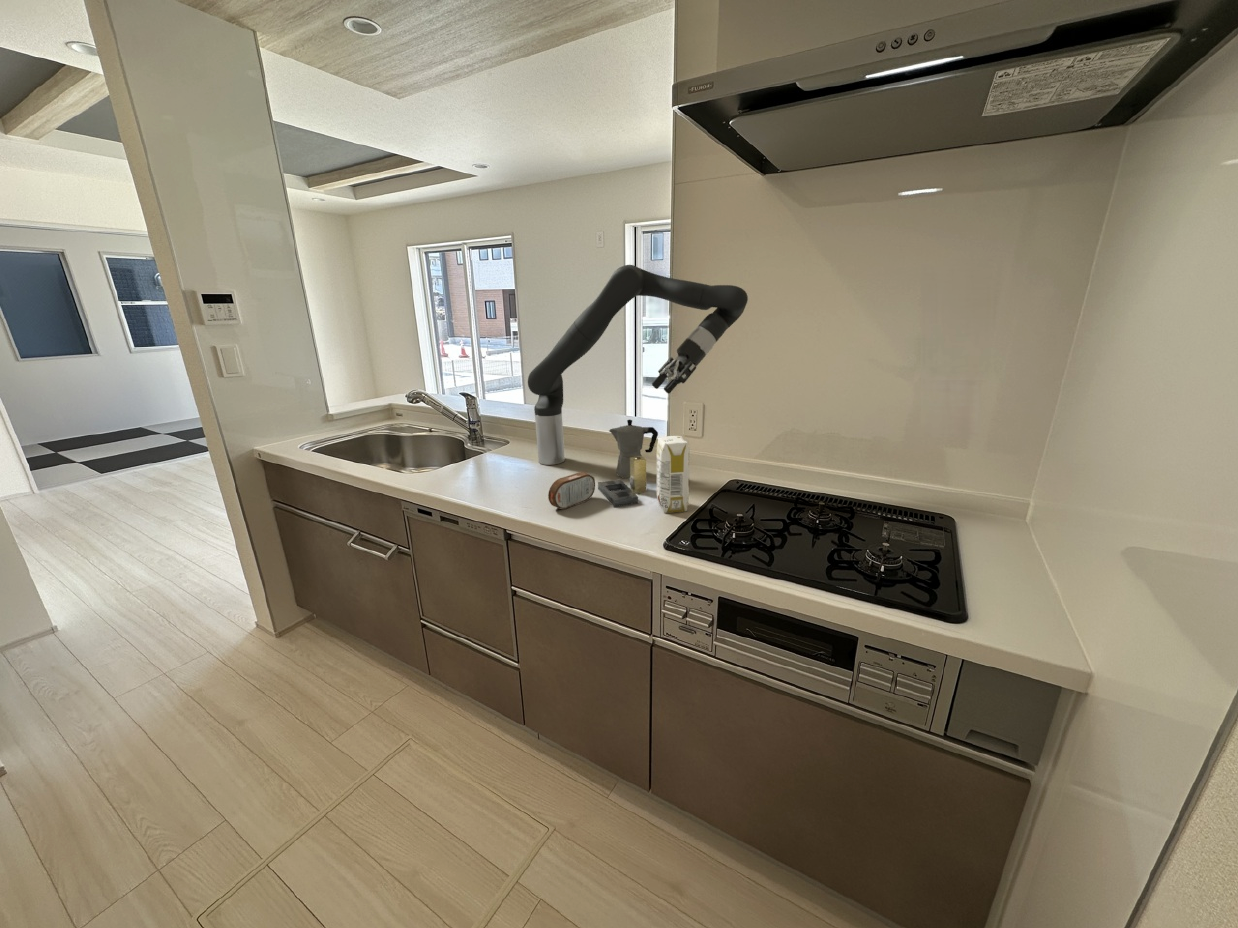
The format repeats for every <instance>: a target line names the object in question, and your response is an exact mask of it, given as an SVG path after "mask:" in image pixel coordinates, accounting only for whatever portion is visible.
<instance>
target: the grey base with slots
mask: <svg viewBox="0 0 1238 928" xmlns="http://www.w3.org/2000/svg"><path fill="white" fill-rule="evenodd" d="M597 489H598V490H599V491H600V492H601V494H602V496H604V497H605V498H606V500H607V501H608V502H609V503H610V504H611V506H613V508H617V507H626V506H631V505H636V504H639V496H638V494H637V493H634V492H633V491H632V490H631V489H630V487H629V486H628V485H627V484H626V483H625V482H624V481H622V479H613V480H605V481H598V482H597Z"/></svg>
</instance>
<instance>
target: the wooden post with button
mask: <svg viewBox="0 0 1238 928" xmlns="http://www.w3.org/2000/svg"><path fill="white" fill-rule="evenodd" d="M629 485H630V487H629V488H630V489H631V490H632V491H633V492H634V493H635V494H640V493H641V494H642V493H646V492H647V459H646V458H645V457H644V456H636V457H630V479H629Z"/></svg>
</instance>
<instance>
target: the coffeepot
mask: <svg viewBox="0 0 1238 928" xmlns="http://www.w3.org/2000/svg"><path fill="white" fill-rule="evenodd" d="M626 421H627V425H622V426H621V425H620V426H619V427H614V428H610V429H609V430H608V432H610V433H611V435H612V436H613V438H614V439H615V440H616V443H617V448H618V450H619V454H618V459H617V467H616V471H615V472H616V475H617V476H618V477H620V478H622V477H623V478H622V479H627V478H630V457H636V456H642V453H641V452H642V451H641V450H642V449H643V444H644V437H645V434H652V435H651V438H650V439H651V440H650V442H649V446H648V447H649V448H648V449H645V450H644V452H645V453H652V452H653V450H654V447H655V444H656V441H657V440H658V439H657V438H658V436H659V432H658V431H657V429H656V428H654V427H653V426H651V427H650V426H649V427H648V426H643V427H642V426H639V425H634V424H633V419H628V420H626ZM642 457H643V456H642Z"/></svg>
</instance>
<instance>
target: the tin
mask: <svg viewBox="0 0 1238 928" xmlns="http://www.w3.org/2000/svg"><path fill="white" fill-rule="evenodd" d="M595 489H596V480H595V477H594V476H593V475H591V474H590V473H588V472H586V471H578V472H577V473H573V474H570V475H566V476H564V477H563V476H562V477H560V478H557V479H556V480H555V481H554V482H552V484H551V486H550V488H549V490H548V495H547V500H548V501H549V503H550V505H551V506H553V507H555V508H557V509H560V510H566V509H569V508H571V507H573V506H576V505H579V504H582V503H585V502H587V501H589V500H590V499H591V498H592V496H593V495H594V493H595Z"/></svg>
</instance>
